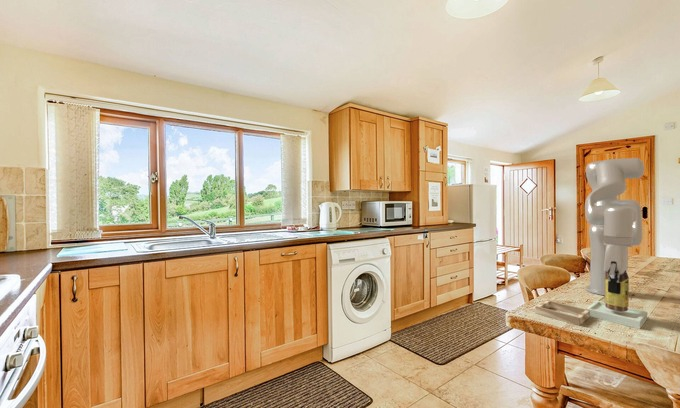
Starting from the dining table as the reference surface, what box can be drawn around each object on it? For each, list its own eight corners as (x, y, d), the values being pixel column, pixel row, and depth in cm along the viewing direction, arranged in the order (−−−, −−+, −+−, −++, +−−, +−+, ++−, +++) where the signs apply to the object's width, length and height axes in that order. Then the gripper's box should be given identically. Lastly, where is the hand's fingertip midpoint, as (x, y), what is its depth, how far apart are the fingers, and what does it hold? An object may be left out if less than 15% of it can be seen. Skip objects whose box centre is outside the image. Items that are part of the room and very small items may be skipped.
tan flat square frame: (547, 306, 116) (547, 300, 116) (589, 317, 105) (589, 310, 105) (535, 313, 109) (535, 306, 108) (579, 325, 98) (579, 318, 98)
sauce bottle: (630, 313, 101) (632, 256, 101) (606, 310, 105) (608, 254, 104) (625, 307, 107) (626, 253, 106) (602, 304, 110) (603, 251, 110)
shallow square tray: (596, 306, 116) (596, 300, 115) (647, 318, 104) (647, 311, 104) (585, 315, 107) (585, 308, 107) (639, 329, 96) (639, 321, 96)
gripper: (609, 238, 113) (608, 284, 114) (597, 242, 103) (596, 293, 103) (637, 240, 107) (635, 289, 108) (626, 245, 97) (625, 299, 97)
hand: (616, 290), depth 106 cm, fingers closed on sauce bottle, 6 cm apart
